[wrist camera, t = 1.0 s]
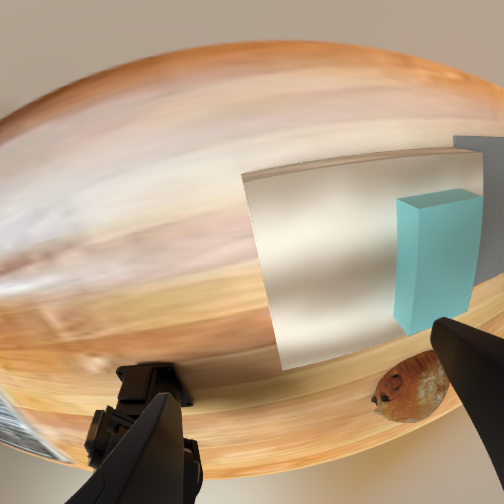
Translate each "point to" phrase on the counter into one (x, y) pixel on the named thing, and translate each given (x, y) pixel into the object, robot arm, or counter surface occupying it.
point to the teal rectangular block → (435, 256)
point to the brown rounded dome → (412, 389)
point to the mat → (489, 204)
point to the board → (341, 243)
